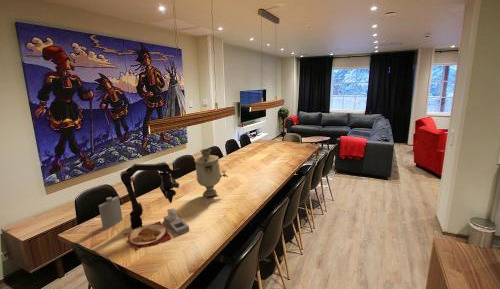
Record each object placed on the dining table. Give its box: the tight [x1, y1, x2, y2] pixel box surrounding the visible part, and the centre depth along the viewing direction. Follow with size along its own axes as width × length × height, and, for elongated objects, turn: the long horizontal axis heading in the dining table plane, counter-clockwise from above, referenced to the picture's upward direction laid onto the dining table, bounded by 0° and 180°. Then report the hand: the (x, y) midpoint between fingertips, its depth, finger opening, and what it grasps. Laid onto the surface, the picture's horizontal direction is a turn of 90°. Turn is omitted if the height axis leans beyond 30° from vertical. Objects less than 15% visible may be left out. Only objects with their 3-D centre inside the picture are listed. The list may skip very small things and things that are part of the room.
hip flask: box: [98, 196, 123, 231], centre depth 184 cm, size 16×4×20 cm, turn 161°
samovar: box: [194, 148, 229, 200], centre depth 221 cm, size 30×26×40 cm
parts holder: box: [163, 213, 190, 236], centre depth 179 cm, size 8×24×3 cm, turn 36°
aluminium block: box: [166, 207, 177, 220], centre depth 183 cm, size 4×4×6 cm
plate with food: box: [123, 220, 173, 252], centre depth 168 cm, size 24×26×4 cm
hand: (168, 200), depth 190 cm, fingers open, 9 cm apart
